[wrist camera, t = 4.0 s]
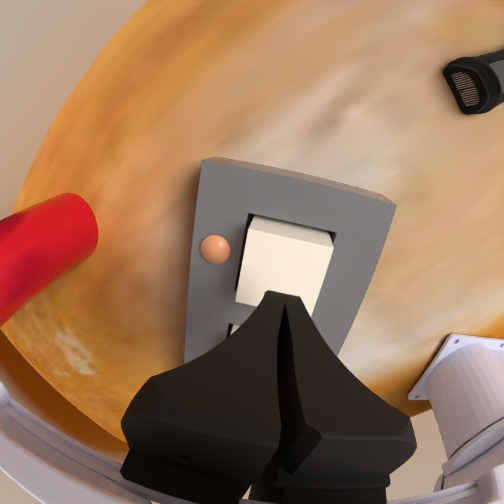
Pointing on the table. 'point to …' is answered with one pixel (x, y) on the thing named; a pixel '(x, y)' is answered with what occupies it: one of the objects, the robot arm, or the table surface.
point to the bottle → (42, 248)
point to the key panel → (288, 209)
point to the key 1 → (283, 261)
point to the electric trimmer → (477, 82)
